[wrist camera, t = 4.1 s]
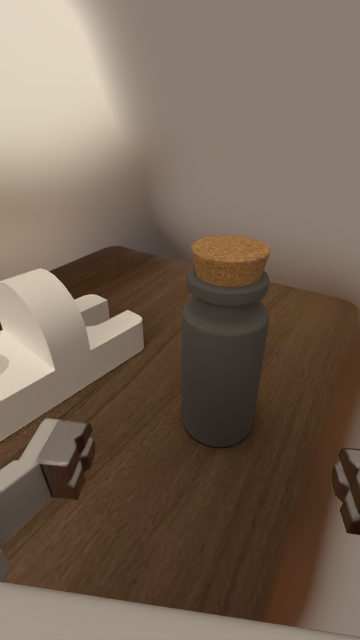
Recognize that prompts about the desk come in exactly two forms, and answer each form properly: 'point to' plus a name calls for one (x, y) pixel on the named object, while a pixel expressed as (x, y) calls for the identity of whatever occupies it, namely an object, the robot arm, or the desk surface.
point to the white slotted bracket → (55, 345)
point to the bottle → (223, 338)
